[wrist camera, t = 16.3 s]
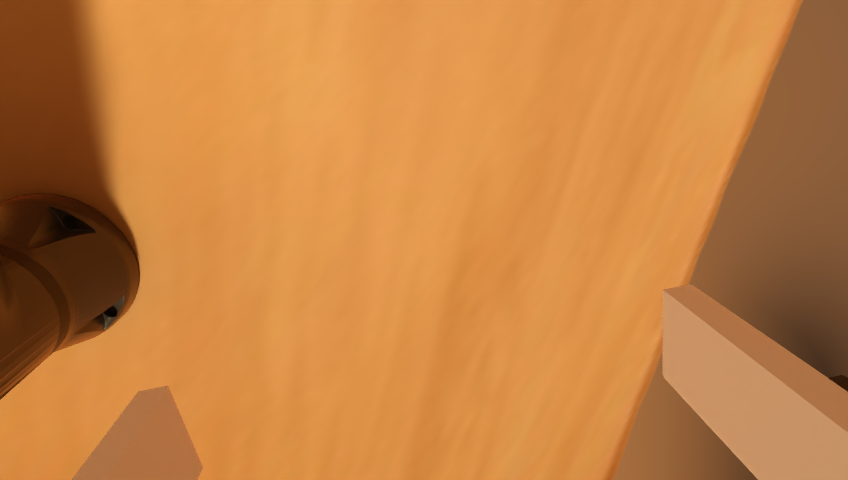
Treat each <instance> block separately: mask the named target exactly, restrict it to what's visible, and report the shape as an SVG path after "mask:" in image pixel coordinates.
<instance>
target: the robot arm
mask: <svg viewBox="0 0 848 480" xmlns="http://www.w3.org/2000/svg"><path fill="white" fill-rule="evenodd" d="M138 285H139V270H138V264H137V261H136V257H135V255H134V252H133V250H132V248H131V246H130V244H129V242H128V241H127V239H126V238H125V236H124V235H123V234H122V232H121V231H120V230H119V229H118V228H117V227H116V226H115V225H114V224H113V223H112V222H111V221H110V220H109V219H108V218H106V217H105V216H104V215H102V214H101V213H100V212H98V211H96V210H95V209H93V208H91V207H90V206H88V205H86V204H84V203H81V202H79V201H76V200H73V199H70V198H67V197H63V196H58V195H52V194H30V195H24V196H19V197H16V198H13V199H10V200H7V201H4V202H1V203H0V399H2V398H3V397H4V396H5V395H6V394H7V393H8V392H9V391H10V390H12V389H13V388H14V387H15V386H16V385H17V384H18V383H19V382H21V381H22V380H23V379H24V378H25V377H26V376H27V375H28V374H29V373H31V372H32V371H33V370H34V369H35V368H36V367H37V366H38V365H39V364H41V363H42V362H43V361H44V360H45V359H46V358H47V357H48V356H50V355H51V354H52V353H53V352H55V351H58V350H61V349H64V348H66V347H69V346H72V345H75V344H78V343H80V342H83V341H86V340H89V339H91V338H94V337H96V336H98V335H99V334H101V333H103V332H105V331H106V330H107V329H109V328H110V327H111V326H113V325H114V324H115V323H116V322H117V321H118V320H119V319H120V318H121V317H122V316H123V315H124V314H125V313H126V312H127V311H128V309H129V308H130V307H131V305H132V303H133V301H134V299H135V297H136V294H137V290H138ZM663 377H664V378H665V379H666V380H667V381H668V382H669V383H670V385H671V386H672V387H673V388H674V389H675V390H676V391H677V392H678V393H679V394H680V395H681V397H682V398H683V399H684V400H685V401H686V402H687V403H688V404H689V405H690V406H691V407H692V408H693V410H695V412H696V413H697V414H698V415H699V416H700V417H701V418H702V419H703V420H704V421H705V423H706V424H707V425H708V426H709V427H710V428H711V429H712V430H713V431H714V432H715V433H716V434H717V436H718V437H719V438H720V439H721V440H722V441H723V442H724V443H725V444H726V445H727V446H728V447H729V449H730V450H731V451H732V452H733V453H734V454H735V455H736V456H737V457H738V458H739V459H740V460H741V462H742V463H743V464H744V465H745V466H746V467H747V468H748V469H749V470H750V471H751V472H752V473H753V474H754V476H755V477H756V478H757V479H758V480H848V378H847V377H845V376H842V375H840V376H835V377H831V378H827V377H826V376H824V375H822V374H821V373H819V372H818V371H817V370H815V369H814V368H812V367H811V366H809V365H808V364H807V363H805V362H804V361H802V360H801V359H799V358H798V357H796V356H795V355H793V354H792V353H791V352H789V351H788V350H786V349H785V348H783V347H782V346H780V345H779V344H777V343H776V342H775V341H773V340H772V339H770V338H769V337H767V336H766V335H764V334H763V333H761V332H760V331H759V330H757V329H755V328H754V327H753V326H751V325H750V324H748V323H747V322H745V321H744V320H743V319H741V318H740V317H738V316H737V315H735V314H733V313H732V312H731V311H729V310H728V309H726V308H725V307H723V306H722V305H721V304H719V303H718V302H716V301H715V300H713V299H712V298H710V297H709V296H708V295H706V294H705V293H703V292H702V291H700V290H699V289H697V288H696V287H694V286H693V285H692V284H690V285H685V286H680V287H675V288H669V289H664V290H663ZM202 468H203V467H202V464H201V462H200V460H199V457H198V455H197V453H196V450H195V448H194V445H193V443H192V441H191V438H190V436H189V434H188V431H187V429H186V427H185V424H184V422H183V420H182V417H181V415H180V413H179V410H178V408H177V406H176V403H175V401H174V399H173V396H172V394H171V391H170V389H169V387H168V386H164V387H159V388H154V389H149V390H144V391H139V392H138V393H137V394H136V395H135V397H134V398H133V399H132V401H131V402H130V403H129V405H128V406H127V407H126V409H125V410H124V411H123V413H122V414H121V415H120V417H119V418H118V419H117V421H116V422H115V423H114V424H113V426H112V427H111V428H110V430H109V431H108V432H107V434H106V435H105V436H104V438H103V439H102V440H101V442H100V443H99V444H98V446H97V447H96V448H95V450H94V451H93V452H92V454H91V455H90V456H89V458H88V459H87V460H86V461H85V463H84V464H83V465H82V467H81V468H80V469H79V471H78V472H77V473H76V475H75V476H74V477H73V479H72V480H197V479H198V477H199V475H200V473H201V471H202Z"/></svg>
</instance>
